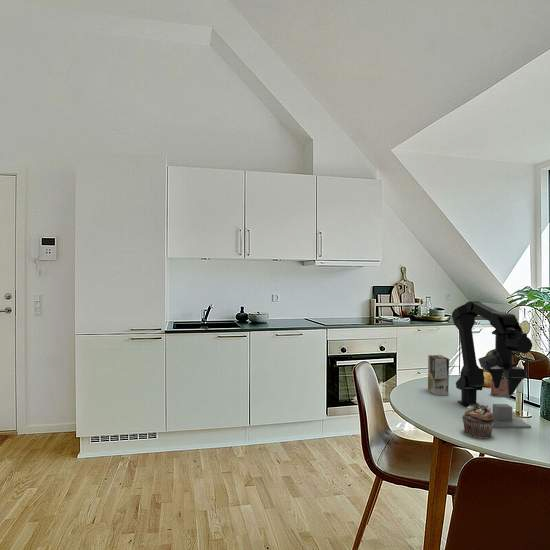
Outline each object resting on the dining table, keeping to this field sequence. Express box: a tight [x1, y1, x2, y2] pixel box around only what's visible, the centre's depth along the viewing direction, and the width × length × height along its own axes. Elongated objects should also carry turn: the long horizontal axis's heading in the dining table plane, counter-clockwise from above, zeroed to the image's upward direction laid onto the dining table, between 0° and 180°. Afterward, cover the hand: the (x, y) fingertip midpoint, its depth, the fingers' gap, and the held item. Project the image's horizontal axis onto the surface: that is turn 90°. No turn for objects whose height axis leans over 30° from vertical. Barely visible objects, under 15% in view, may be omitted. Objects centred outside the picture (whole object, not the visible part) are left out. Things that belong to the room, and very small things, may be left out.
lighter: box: [490, 373, 511, 398], centre depth 189 cm, size 8×3×10 cm, turn 84°
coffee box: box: [427, 354, 450, 396], centre depth 193 cm, size 9×6×16 cm
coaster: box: [491, 412, 532, 429], centre depth 156 cm, size 13×13×1 cm
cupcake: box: [461, 402, 494, 439], centre depth 143 cm, size 10×10×10 cm
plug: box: [492, 403, 517, 421], centre depth 156 cm, size 4×7×5 cm, turn 91°
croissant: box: [483, 370, 492, 388], centre depth 207 cm, size 21×10×8 cm, turn 53°
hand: (503, 391), depth 155 cm, fingers open, 9 cm apart
